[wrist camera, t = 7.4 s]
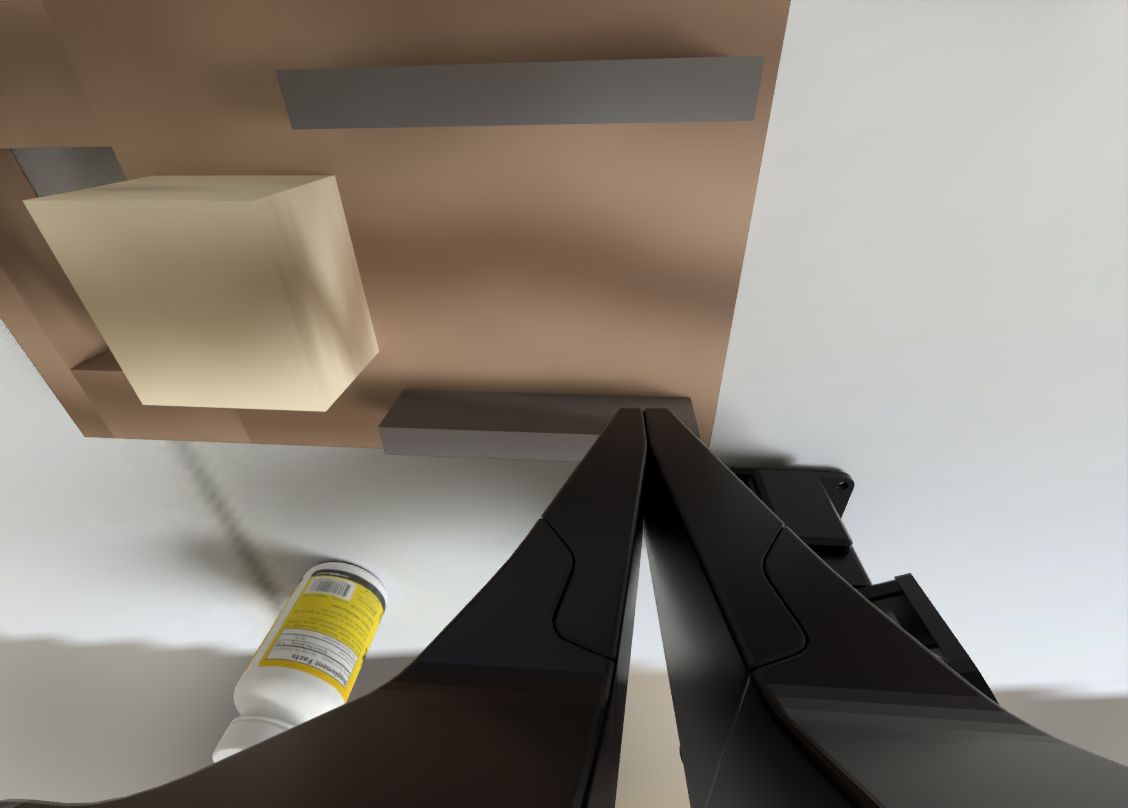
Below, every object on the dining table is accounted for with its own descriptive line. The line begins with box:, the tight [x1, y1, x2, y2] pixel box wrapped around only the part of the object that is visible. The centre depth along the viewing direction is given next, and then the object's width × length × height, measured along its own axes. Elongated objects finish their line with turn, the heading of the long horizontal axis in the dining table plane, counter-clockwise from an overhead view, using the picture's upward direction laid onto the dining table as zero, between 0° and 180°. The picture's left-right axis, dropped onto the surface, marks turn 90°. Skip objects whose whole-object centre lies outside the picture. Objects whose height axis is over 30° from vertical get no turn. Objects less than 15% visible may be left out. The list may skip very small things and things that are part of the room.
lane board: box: [0, 0, 791, 462], centre depth 17 cm, size 15×28×5 cm, turn 91°
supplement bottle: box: [212, 562, 388, 763], centre depth 27 cm, size 5×5×10 cm
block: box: [23, 175, 379, 412], centre depth 15 cm, size 6×6×4 cm
